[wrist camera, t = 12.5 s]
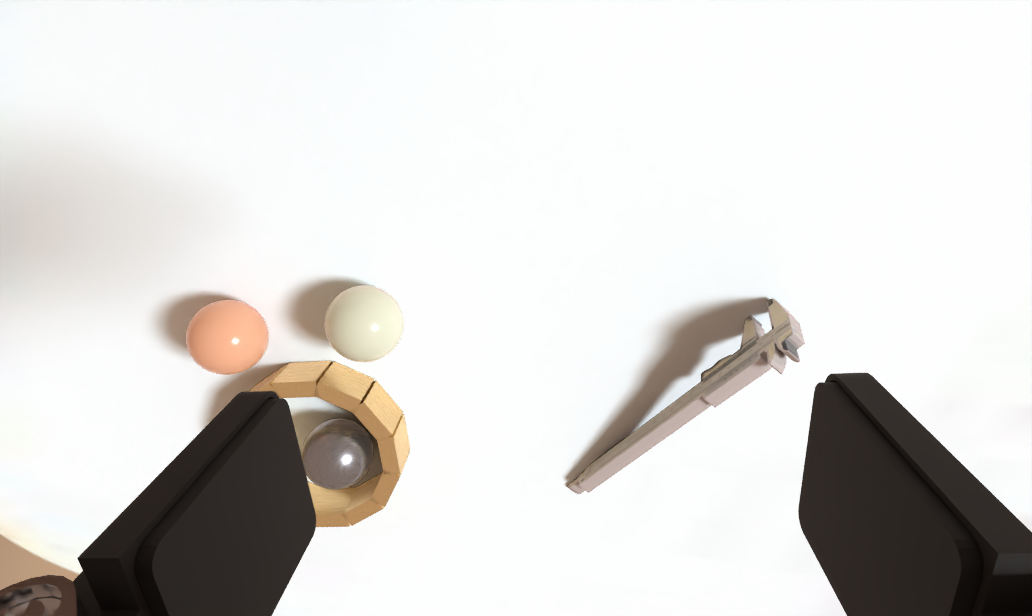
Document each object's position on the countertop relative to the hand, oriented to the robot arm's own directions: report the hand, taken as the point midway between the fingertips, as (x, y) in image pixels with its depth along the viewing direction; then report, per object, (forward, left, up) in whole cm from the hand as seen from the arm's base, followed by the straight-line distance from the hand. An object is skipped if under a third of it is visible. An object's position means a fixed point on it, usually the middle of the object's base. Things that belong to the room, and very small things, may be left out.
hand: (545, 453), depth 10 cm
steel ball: (+18, -17, -26) cm, 35 cm away
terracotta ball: (+8, -22, -26) cm, 35 cm away
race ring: (+18, -18, -28) cm, 38 cm away
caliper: (+16, +7, -29) cm, 34 cm away
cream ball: (+8, -13, -26) cm, 30 cm away
